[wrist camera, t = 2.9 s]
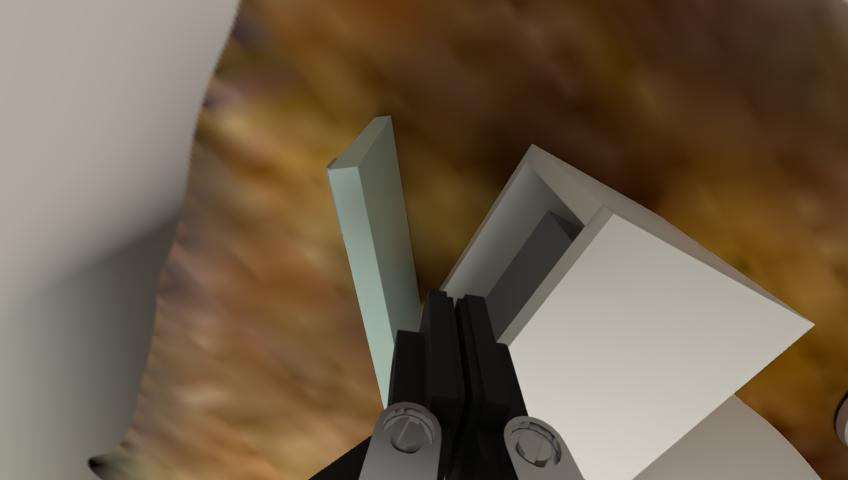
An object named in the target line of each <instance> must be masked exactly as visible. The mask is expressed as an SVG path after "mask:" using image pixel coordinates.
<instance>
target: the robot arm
mask: <svg viewBox="0 0 848 480" xmlns="http://www.w3.org/2000/svg"><path fill="white" fill-rule="evenodd" d="M836 432H837V434H838V437H839V439H840V440H841V441H842V442H843V444H844V445H845V446H846V447H848V397H847V399H846V400H845V401H844V403H843V405H842V406H841V408H840V410H839V412H838V416H837V419H836ZM444 476H445V480H585V479H584V478H583V476H582V474H581V472H580V470H579V468H578V466H577V464H576V462H575V460H574V459H573V457H572V455H571V453H570V451H569V449H568V447H567V445H566V443H565V441H564V440H563V439H562V437H561V436H560V434H559V433H558V432H557V431H556V430H555V429H554V428H553V427H552V426H550V425H549V424H547V423H545V422H544V421H542V420H540V419H537V418H534V417H529V416H528V413H527V409H526V406H525V402H524V399H523V396H522V392H521V389H520V385H519V382H518V379H517V375H516V372H515V368H514V365H513V361H512V358H511V355H510V351H509V348H508V346H507V345H506V344H504V343H496V341H495V338H494V334H493V330H492V326H491V322H490V318H489V314H488V310H487V306H486V302H485V299H484V297H482V296H475V295H468V294H465V295H464V297H463V299H462V298H458V299H457V301H456V305H455V308H454V301H453V297H447V292H446V291H439V290H432V289H428V291H427V295H426V300H425V305H424V309H423V314H422V319H421V324H420V329H419V332H413V331H405V330H397V334H396V340H395V346H394V351H393V358H392V365H391V373H390V382H389V392H388V403H387V408H386V409H385V410H384V411H382V412H381V413H380V415H379V417H378V419H377V421H376V424H375V428H374V431H373V434H372V436H370V437H369V438H367V439H366V440H364V441H363V442H362V443H360V444H359V445H357V446H356V447H354V448H353V449H351V450H350V451H349V452H347V453H346V454H344V455H343V456H341V457H340V458H339V459H337V460H336V461H334V462H333V463H331V464H330V465H329V466H327V467H326V468H324V469H323V470H321V471H320V472H318V473H317V474H316V475H314V476H313V477H311V478H310V479H308V480H444Z"/></svg>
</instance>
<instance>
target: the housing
mask: <svg viewBox="0 0 848 480" xmlns="http://www.w3.org/2000/svg"><path fill="white" fill-rule="evenodd" d="M439 291H446V292H447V297H453V301H454V308H455V305H456V301H457V299H458V298H462V299H463V297H464V295H465V294H468V295H475V296H482V297H484V299H485V302H486V306H487V310H488V314H489V318H490V322H491V326H492V330H493V334H494V338H495V341H496V343H504V344H506V345H507V346H508V348H509V351H510V355H511V358H512V361H513V365H514V368H515V372H516V375H517V379H518V382H519V385H520V389H521V392H522V396H523V399H524V402H525V406H526V409H527V413H528V416H529V417H534V418H537V419H540V420H542V421H544V422H545V423H547V424H549V425H550V426H552V427H553V428H554V429H555V430H556V431H557V432H558V433H559V434H560V436H561V437H562V439H563V440H564V441H565V443H566V445H567V447H568V449H569V451H570V453H571V455H572V457H573V459H574V460H575V462H576V464H577V466H578V468H579V470H580V472H581V474H582V476H583V478H584V479H585V480H632V479H633V478H634V477H636V476H637V475H638V474H639V473H640V472H641V471H643V470H644V469H645V468H646V467H647V466H649V465H650V464H651V463H652V462H653V461H654V460H656V459H657V458H658V457H659V456H660V455H662V454H663V453H664V452H665V451H666V450H667V449H669V448H670V447H671V446H672V445H673V444H675V443H676V442H677V441H678V440H679V439H680V438H682V437H683V436H684V435H685V434H686V433H688V432H689V431H690V430H691V429H692V428H693V427H695V426H696V425H697V424H698V423H699V422H701V421H702V420H703V419H704V418H705V417H706V416H708V415H709V414H710V413H711V412H712V411H714V410H715V409H716V408H717V407H718V406H719V405H721V404H722V403H723V402H724V401H725V400H727V399H728V398H729V397H730V396H731V395H732V394H734V393H735V392H736V391H737V390H738V389H740V388H741V387H742V386H743V385H744V384H745V383H747V382H748V381H749V380H750V379H751V378H753V377H754V376H755V375H756V374H757V373H758V372H760V371H761V370H762V369H763V368H764V367H766V366H767V365H768V364H769V363H770V362H771V361H773V360H774V359H775V358H776V357H777V356H779V355H780V354H781V353H782V352H783V351H784V350H786V349H787V348H788V347H789V346H790V345H792V344H793V343H794V342H795V341H796V340H797V339H799V338H800V337H801V336H802V335H803V334H805V333H806V332H807V331H808V330H809V329H810V328H812V327H813V326H814V325H815V324H813V323H812V322H811V321H809V320H808V319H806V318H805V317H803V316H802V315H801V314H799V313H798V312H796V311H795V310H793V309H792V308H790V307H789V306H788V305H786V304H785V303H783V302H782V301H780V300H779V299H778V298H776V297H775V296H773V295H772V294H770V293H769V292H768V291H766V290H765V289H763V288H762V287H760V286H759V285H758V284H756V283H755V282H753V281H752V280H750V279H749V278H748V277H746V276H745V275H743V274H742V273H740V272H739V271H738V270H736V269H735V268H733V267H732V266H730V265H729V264H727V263H726V262H725V261H723V260H722V259H720V258H719V257H717V256H716V255H715V254H713V253H712V252H710V251H709V250H707V249H706V248H705V247H703V246H702V245H700V244H699V243H697V242H696V241H695V240H693V239H692V238H690V237H689V236H687V235H686V234H685V233H683V232H682V231H680V230H679V229H677V228H676V227H675V226H673V225H672V224H670V223H669V222H667V221H666V220H665V219H663V218H662V217H660V216H659V215H657V214H656V213H654V212H652V211H651V210H649V209H647V208H645V207H643V206H642V205H640V204H638V203H636V202H635V201H633V200H631V199H629V198H628V197H626V196H624V195H622V194H620V193H619V192H617V191H615V190H613V189H612V188H610V187H608V186H606V185H605V184H603V183H601V182H599V181H597V180H596V179H594V178H592V177H590V176H589V175H587V174H585V173H583V172H582V171H580V170H578V169H576V168H574V167H573V166H571V165H569V164H567V163H566V162H564V161H562V160H560V159H559V158H557V157H555V156H553V155H551V154H550V153H548V152H546V151H544V150H543V149H541V148H539V147H537V146H535V145H534V144H531V146H530V147H529V149H528V151H527V152H526V154H525V155H524V157H523V158H522V160H521V162H520V163H519V165H518V166H517V168H516V169H515V171H514V173H513V174H512V176H511V177H510V179H509V180H508V182H507V183H506V185H505V187H504V188H503V190H502V191H501V193H500V194H499V196H498V198H497V199H496V201H495V202H494V204H493V205H492V207H491V209H490V210H489V212H488V213H487V215H486V216H485V218H484V220H483V221H482V223H481V224H480V226H479V227H478V229H477V231H476V232H475V234H474V235H473V237H472V238H471V240H470V241H469V243H468V245H467V246H466V248H465V249H464V251H463V252H462V254H461V256H460V257H459V259H458V260H457V262H456V263H455V265H454V267H453V268H452V270H451V271H450V273H449V274H448V276H447V278H446V279H445V281H444V282H443V284H442V285H441V287H440V288H439Z"/></svg>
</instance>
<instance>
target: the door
mask: <svg viewBox="0 0 848 480" xmlns="http://www.w3.org/2000/svg"><path fill="white" fill-rule="evenodd" d="M326 172H327V176H328V180H329V184H330V189H331V193H332V197H333V201H334V205H335V210H336V214H337V218H338V222H339V226H340V230H341V235H342V237H344V242H345V246H346V250H347V254H348V258H349V263H350V267H351V271H352V275H353V279H354V284H355V288H356V292H357V296H358V301H359V305H360V309H361V313H362V317H363V322H364V326H365V330H366V334H367V338H368V343H369V347H370V351H371V355H372V359H373V364H374V368H375V372H376V376H377V380H378V385H379V389H380V393H381V397H382V401H383V406H384V410H385V409H386V408H387V403H388V392H389V382H390V373H391V365H392V358H393V351H394V346H395V340H396V334H397V330H405V331H413V332H419V329H420V324H421V303H420V297H419V290H418V284H417V278H416V271H415V265H414V259H413V252H412V246H411V240H410V233H409V227H408V221H407V214H406V208H405V202H404V195H403V189H402V183H401V176H400V170H399V164H398V157H397V151H396V145H395V139H394V132H393V126H392V120H391V115H389V116H382V117H374V119H373V120H372V121H371V122H370V123H369V124H368V125H367V126H366V128H365V129H364V130H363V131H362V132H361V133H360V134H359V135H358V137H357V138H356V139H355V140H354V141H353V142H352V143H351V144H350V146H349V147H348V148H347V149H346V150H345V151H344V152H343V153H342V154H341V156H340V157H339V158H335V159H334V160H333V161H332V162H331V163H330V164H329V165H328V166H327V167H326Z"/></svg>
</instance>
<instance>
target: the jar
mask: <svg viewBox="0 0 848 480" xmlns="http://www.w3.org/2000/svg"><path fill="white" fill-rule="evenodd" d="M632 480H821V479H820V478H819V476H818V475H817V474H816V472H815V471H814V470H813V469H812V467H811V466H810V465H809V464H808V463H807V461H806V460H805V459H804V458H803V457H802V456H801V455H800V453H799V452H798V451H797V450H796V449H795V448H794V447H793V446H792V445H791V444H790V443H789V442H788V441H787V440H786V439H785V438H784V437H783V436H782V435H781V434H780V433H779V432H778V431H777V430H776V429H775V428H774V427H773V426H772V425H771V424H769V423H768V422H767V421H766V420H765V419H764V418H762V417H761V416H760V415H759V414H758V413H756V412H755V411H754V410H752V409H751V408H750V407H748V406H747V405H746V404H744V403H743V402H742V401H741V400H740V399H739V398H738V397H737V396H736V395H734V394H732V395H731V396H730V397H729V398H728V399H727V400H725V401H724V402H723V403H722V404H721V405H719V406H718V407H717V408H716V409H715V410H714V411H712V412H711V413H710V414H709V415H708V416H706V417H705V418H704V419H703V420H702V421H701V422H699V423H698V424H697V425H696V426H695V427H693V428H692V429H691V430H690V431H689V432H688V433H686V434H685V435H684V436H683V437H682V438H680V439H679V440H678V441H677V442H676V443H675V444H673V445H672V446H671V447H670V448H669V449H667V450H666V451H665V452H664V453H663V454H662V455H660V456H659V457H658V458H657V459H656V460H654V461H653V462H652V463H651V464H650V465H649V466H647V467H646V468H645V469H644V470H643V471H641V472H640V473H639V474H638V475H637V476H636V477H634V478H633V479H632Z"/></svg>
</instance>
